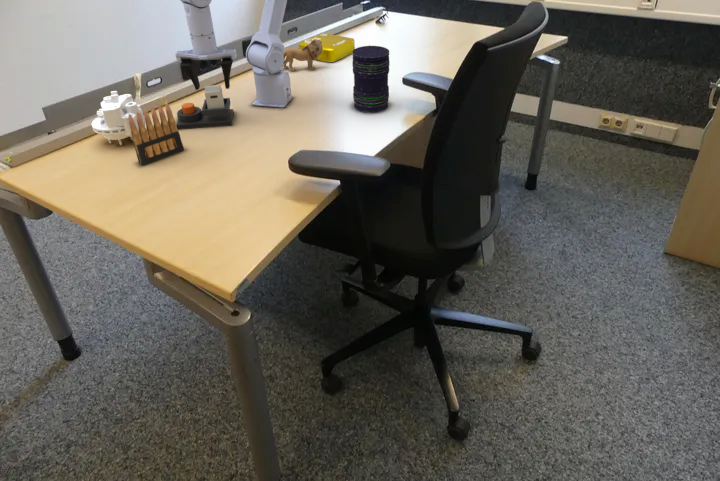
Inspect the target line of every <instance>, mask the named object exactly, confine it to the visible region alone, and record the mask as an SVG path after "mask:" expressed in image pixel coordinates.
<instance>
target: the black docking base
mask: <svg viewBox="0 0 720 481" xmlns="http://www.w3.org/2000/svg"><path fill="white" fill-rule="evenodd" d="M195 111H196V112H195V113H193V114H183V110H182V108H180V109H179V110H177V112H176V115H177V120H176V126H177V130H183V129H198V128H199V129H200V128H212V127H226V126H227V127H228V126H232V125H233V120H234V113H235V112H234V109H233V108H230V109H229V114H223V115H209V116H203V114H202V108H200V107H199V106H195Z"/></svg>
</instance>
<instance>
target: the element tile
mask: <svg viewBox="0 0 720 481" xmlns="http://www.w3.org/2000/svg"><path fill="white" fill-rule="evenodd" d="M314 39H318V40H320V41H322V52H321V54H320V55H319V56H318V58H317V59H316V60H315V61H321V62H325V63H335V62H337V61H340V60H342V59H344V58H345V57H347V56H350V55H352V54H353V50H354V49H356V48H355V47H356V45H355V39H354V38H352V37H348V36H342V35H336V34H330V33H324V32H321V33H319V34H317V35H314V36H312V37H309V38H307V39H304V40H302V41H300V42H299V43H298V49H303V48H304V47H305V46H307V45H308V44H310V43H311V41H312V40H314Z"/></svg>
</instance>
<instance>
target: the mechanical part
mask: <svg viewBox="0 0 720 481" xmlns="http://www.w3.org/2000/svg"><path fill="white" fill-rule="evenodd" d="M102 99H103V100H102V101H101V102H100V108H99V109H98V110H96V116H97V117H96V118H94V119H93V120H92V121H91V128H92V130H93V132H94V133H96V134H98V135H102V136H103V137H104V139H106V140H107V141H108V143H109V144H112V143H113V142H112V141H118V144H119V146H122V145H123V142H122V140H124V139H127V138H129V137H130V141H133V138H132V135H131V129H130V125H129V119H128V116H129V114H130V115H131V116H132V118H133V120H134V122H135V125H136V127H137V130H138V132H139V127H138V123H137V118H136V113H137V112H138V113H139V114H140V116H141V118H142V120H143V123H144V126H145V127H146V122H145V118H144V111H143V110H142V106H141V104H140V103H137V102H136V101H134V99H133V95H132V94H131V93H125V94H121V95H119V93H118V90H112V91H110V95H107V96H104V97H102ZM139 134H140V133H139Z"/></svg>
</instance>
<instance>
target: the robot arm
mask: <svg viewBox="0 0 720 481" xmlns="http://www.w3.org/2000/svg"><path fill="white" fill-rule="evenodd" d="M179 1H180V2H181V3H182V5H183V8H184V12H185V19H186V22H187V27H188V31H189V36H190V41H191V46H192V49H188V50H186V49H185V50H177V51H176V52H175V53H174V54H175V60H176V62H181V64H180V66H181V68H182V70H183V71H184V72H185V73H186V74H187V76H188V77H189V79H190V81H191V82H192V84H193V86H194V89H195V91H198V90H200V87H201V84H200V79H199V76H198V71H197V64H196V61H208V60H209V61H211V60H212V61H213V60H221V61H220V67H221V70H222V74H223V80H224V87H225V89H226V90H229V89H230V87H231V85H230V84H231V83H230V80H231V79H230V78H231V71H232V66H233V62H234V60H237V58H238V55H237V49H235V48H234V49H230V48H229V49H228V48H218V45H217V40H216V35H215V30H214V23H213V18H212V13H211V8H210V4H211V3H212V0H179ZM287 3H288V0H264V3H263V8H262V13H261V19H260V23H259V27H258V28H259V29H258V31H257V32H256V33H255V34H253V35H252V37H251V41H250V43H249V45H248V46H247V48H246V51H245V58H246V61H247V63H248V64H249V65H251V70H252V72H253V79H254V84H255V85H254V86H255V93H256V99H255V100H254V101H253V103H252V106H256V107H267V108H268V107H269V108H270V107H271V108H286V106H287V105H288V104H289V103H290V101H291V100H292V99H293V97H294V96H293V95H292V84H291V77H290V73H289V72H288V71H286V70H282V69H283V67H284V64H283V63H284V61H285V59H284V56H283V54H284V51H285V45H284V44H283V42H282V40H281V38H280V36H281V31H282V25H283V22H284V17H285V12H286V7H287ZM282 66H283V67H282ZM281 68H282V69H281Z"/></svg>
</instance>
